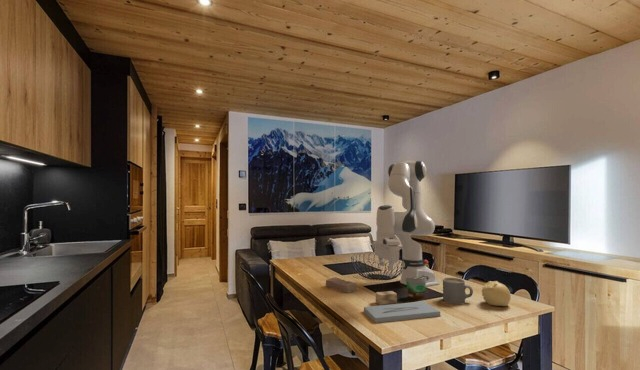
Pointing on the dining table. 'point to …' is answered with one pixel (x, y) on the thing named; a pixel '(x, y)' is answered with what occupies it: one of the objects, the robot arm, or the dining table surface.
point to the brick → (341, 285)
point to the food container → (416, 287)
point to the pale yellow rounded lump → (496, 293)
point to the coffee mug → (455, 290)
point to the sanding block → (386, 298)
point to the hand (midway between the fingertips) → (385, 267)
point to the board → (401, 311)
